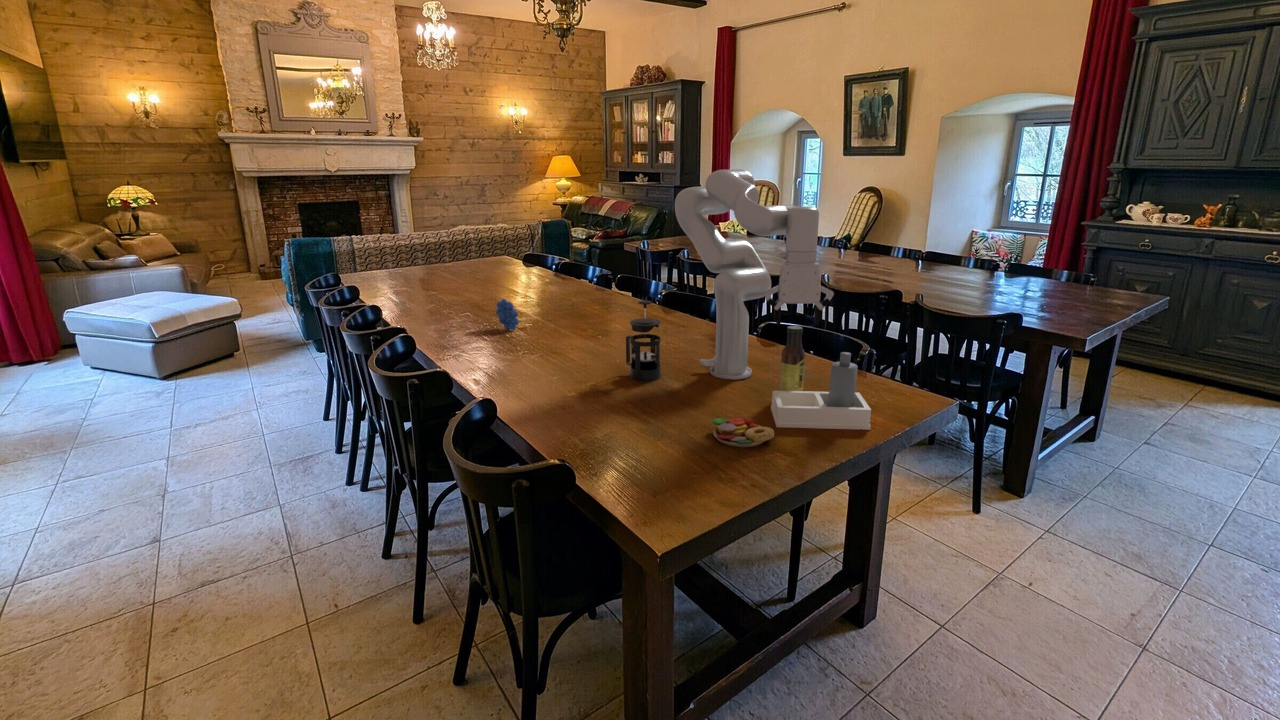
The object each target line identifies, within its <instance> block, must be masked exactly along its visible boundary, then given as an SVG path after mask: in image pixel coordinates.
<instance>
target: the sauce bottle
mask: <svg viewBox="0 0 1280 720" xmlns="http://www.w3.org/2000/svg"><path fill="white" fill-rule="evenodd" d="M803 332H804V328H803V327H802V326H800V325H799V326H798V325H790V326H789V325H788V326H787V328H786V334H787V335H786V345H785V346H784V347H783V349H782V351H781V360H780V368H779V369H780V370H779V388H778V389H779V390H778V391H804V381H805V367H806V354H805V350H804V348H803V347H804V346H803V342H802V341H803V340H802V337H803V334H804V333H803Z"/></svg>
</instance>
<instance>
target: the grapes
mask: <svg viewBox="0 0 1280 720" xmlns="http://www.w3.org/2000/svg"><path fill="white" fill-rule="evenodd" d="M496 308H497V309H496V311H495V313H496V315H497V316H498V322H499V323H500V324H501V325H503V327H504V328H505V329H506V330H508V331H509V330H511V331H515V330H516V328H517V326H518V325H519V322H520V320H519V319H518V315H519V313H518V311H517V310H516V309H514V304H513V303H512V302H511V301H508V300H507V299H505V298H502V299H501V300H500V301H497V302H496Z"/></svg>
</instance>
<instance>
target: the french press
mask: <svg viewBox="0 0 1280 720" xmlns="http://www.w3.org/2000/svg"><path fill="white" fill-rule="evenodd" d="M637 304H639V305H643V309H644V317H642V318H635V319H632V320H630V321H629V324H630V325H631V331H633V332H636V333H640V334H635V335H627V336H625V352H626V353H625V356H626V359H625V361H626V365H628V366H630V375H629V378H630V379H632V380H633V379H634V381H636V380H637V381H638V382H655V381H658V380H659V378H660V379H661V378H662V373H661V370H662V369H661V368H662V367H661V357H660V356H661V352H660V351H661V349H660V348H661V346H660V345H661V343H662V342H661V336H659V335H657V334H652V333H649V332H650V331H652V330H653V329H654V328H659V327H660V325H661V323H662V322H661V320H659V319H656V318H648V317H646V316H647V312H646V311H647V310H646V309H647V307H648V305H651V304H653V302H652V301H651V300H640V301H638V302H637ZM640 339H644V341H637V340H640ZM647 339H649V340H650V341H647ZM641 347H642V348H643V347H644V351H641ZM647 347H650V349H649V350H650V351H647ZM657 379H658V380H657ZM654 380H655V381H654Z"/></svg>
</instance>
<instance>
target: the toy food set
mask: <svg viewBox="0 0 1280 720" xmlns="http://www.w3.org/2000/svg"><path fill="white" fill-rule="evenodd" d="M712 424H713V426H714V427H713V429H712V434H713V436H714V438H716V440H718V441H719V442H720V443H721V444H725V445H727V446H731V447H737V448H751V447H757V446H759V445H762V444H763V443H764V442H766V441H769V440H771V439H772V438H774V436H775V431H774V429H773V428H771V427H768V426H761V425H758V424H756V423H752V422H751V420H750V419H749V418H747V417H731V418H729V419H726V418H723V417H717V418H713V419H712Z"/></svg>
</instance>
